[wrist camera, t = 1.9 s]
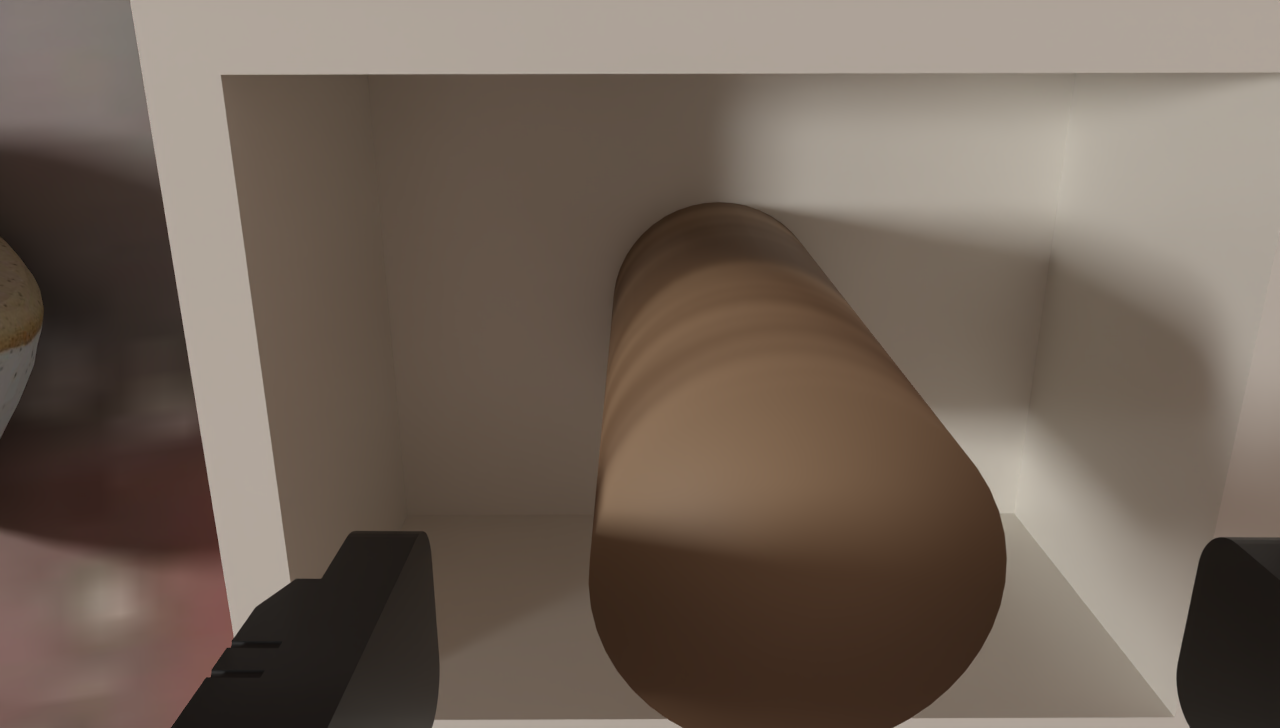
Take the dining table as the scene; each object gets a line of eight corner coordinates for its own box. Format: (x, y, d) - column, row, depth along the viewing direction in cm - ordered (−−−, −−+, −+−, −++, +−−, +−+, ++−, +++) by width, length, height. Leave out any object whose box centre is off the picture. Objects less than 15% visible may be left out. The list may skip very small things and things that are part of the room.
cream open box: (325, 7, 20) (127, -9, 12) (1112, 6, 20) (1412, -12, 12) (379, 532, 23) (255, 770, 16) (1035, 530, 23) (1224, 766, 16)
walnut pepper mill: (611, 202, 20) (584, 387, 9) (825, 201, 20) (1032, 387, 9) (614, 401, 21) (592, 753, 11) (813, 400, 21) (981, 751, 11)
